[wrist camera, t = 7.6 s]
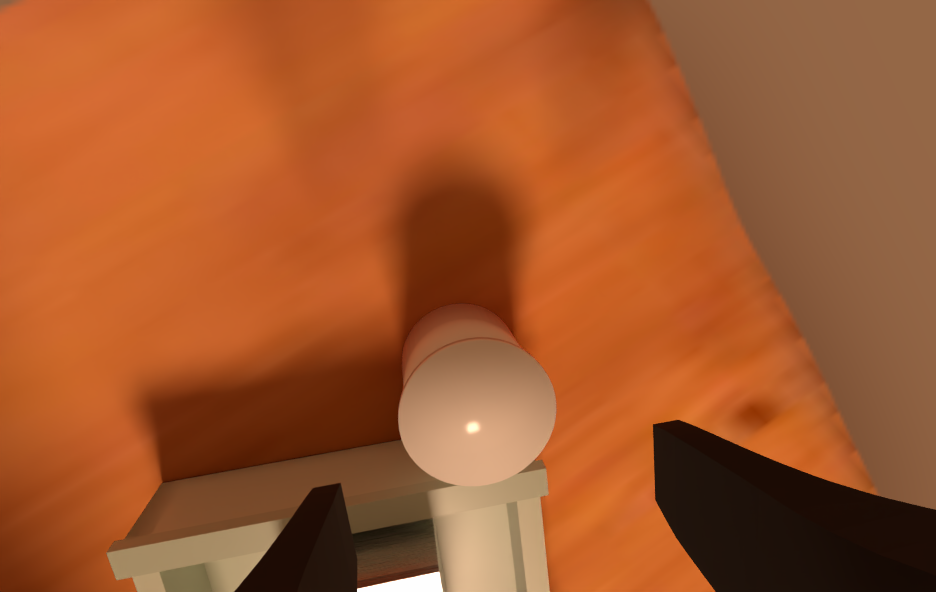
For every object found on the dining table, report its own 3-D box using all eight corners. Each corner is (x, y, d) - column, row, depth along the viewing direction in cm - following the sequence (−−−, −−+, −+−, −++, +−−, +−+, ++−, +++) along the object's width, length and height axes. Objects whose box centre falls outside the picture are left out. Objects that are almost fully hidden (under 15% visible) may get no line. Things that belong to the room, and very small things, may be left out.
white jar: (406, 425, 21) (411, 499, 16) (386, 308, 19) (385, 355, 15) (526, 404, 21) (562, 470, 17) (514, 288, 20) (549, 328, 15)
